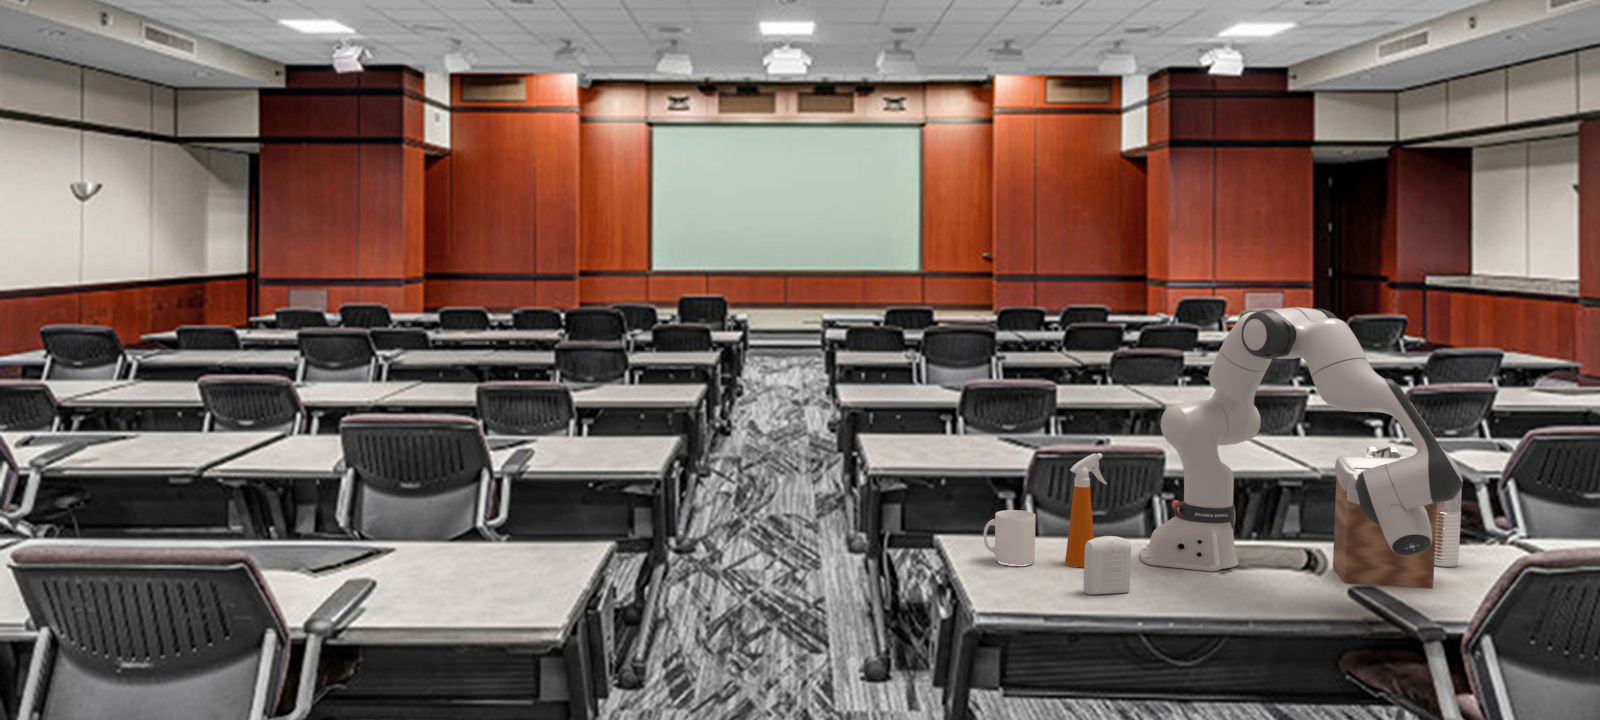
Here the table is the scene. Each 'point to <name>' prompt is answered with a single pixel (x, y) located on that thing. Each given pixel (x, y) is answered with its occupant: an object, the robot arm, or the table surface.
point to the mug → (1013, 537)
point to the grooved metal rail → (1383, 453)
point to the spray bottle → (1082, 509)
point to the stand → (1376, 550)
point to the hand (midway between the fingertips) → (1381, 449)
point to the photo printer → (1107, 565)
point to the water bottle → (1448, 532)
